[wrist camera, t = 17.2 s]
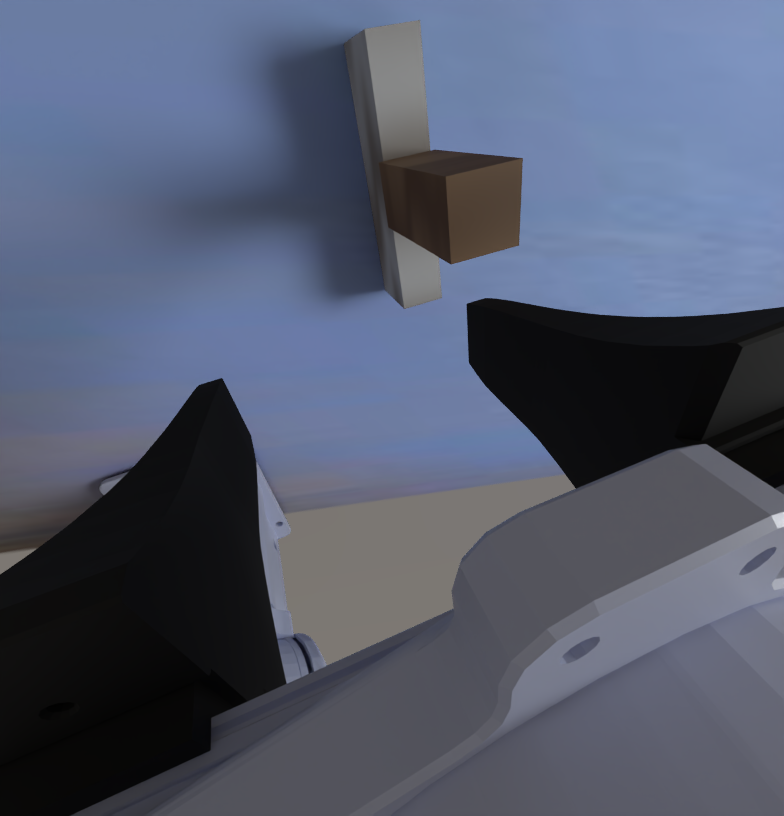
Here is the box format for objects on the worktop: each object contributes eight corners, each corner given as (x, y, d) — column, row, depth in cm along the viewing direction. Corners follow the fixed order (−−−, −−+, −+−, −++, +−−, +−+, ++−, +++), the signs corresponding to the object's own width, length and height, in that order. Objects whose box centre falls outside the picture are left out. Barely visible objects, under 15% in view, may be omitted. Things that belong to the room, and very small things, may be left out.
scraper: (421, 279, 22) (514, 348, 15) (381, 290, 22) (457, 367, 15) (395, 35, 16) (530, -38, 9) (338, 45, 16) (433, -24, 9)
